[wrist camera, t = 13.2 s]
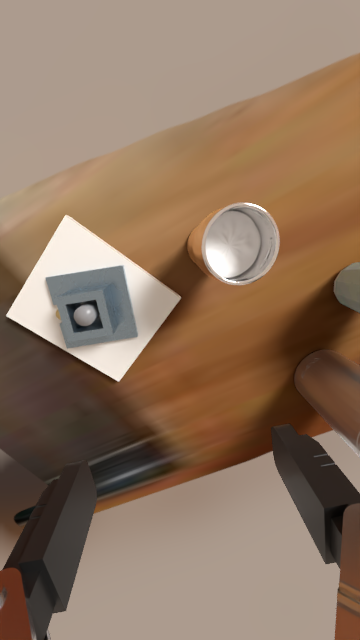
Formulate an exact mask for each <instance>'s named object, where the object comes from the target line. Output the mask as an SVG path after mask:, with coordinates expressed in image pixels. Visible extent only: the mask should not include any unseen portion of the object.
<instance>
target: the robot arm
mask: <svg viewBox="0 0 360 640" xmlns="http://www.w3.org/2000/svg"><path fill="white" fill-rule="evenodd" d="M294 383H295V387H296V389H297V390H298V392H299V393H300V394H301V395H302V396H303V397H304V398H305V399H306V400H307V401H308V402H309V404H310V405H311V406H312V407H313V408H314V409H315V410H316V411H317V412H318V413H319V414H320V416H321V417H322V418H323V419H324V420H325V421H326V422H327V423H328V424H329V425H330V426H331V427H332V428H333V429H334V431H335V432H336V433H337V434H338V435H339V436H340V437H341V438H342V439H343V440H344V441H345V442H346V443H347V444H348V446H350V448H351V449H352V450H353V451H354V452H355V453H356V454H357V455H358V456H359V457H360V366H359V365H358V364H356V363H355V362H353V361H351V360H350V359H348V358H347V357H345V356H343V355H342V354H340V353H338V352H336V351H333V350H319V351H316V352H313V353H311V354H310V355H308V356H307V357H305V358H304V359H303V360H302V361H301V363H300V364H299V365H298V367H297V369H296V371H295V375H294ZM271 433H272V444H273V455H274V460H275V464H276V467H277V470H278V472H279V474H280V476H281V478H282V480H283V482H284V484H285V486H286V488H287V489H288V492H289V493H290V495H291V497H292V499H293V501H294V503H295V505H296V507H297V509H298V511H299V513H300V515H301V517H302V519H303V521H304V523H305V525H306V527H307V529H308V531H309V533H310V534H311V537H312V538H313V540H314V542H315V544H316V546H317V548H318V550H319V552H320V554H321V556H322V558H323V560H324V562H325V564H330V563H334V562H336V563H337V565H338V566H339V568H340V578H339V588H338V594H337V608H336V624H335V639H334V640H360V493H359V492H358V491H357V490H356V489H355V487H354V486H353V485H352V483H351V482H350V481H349V480H348V479H347V477H346V476H345V475H344V473H343V472H342V471H341V470H340V469H339V467H338V466H337V465H335V463H334V461H333V460H332V459H331V457H330V456H328V454H327V452H326V451H325V450H324V449H323V447H322V446H321V445H320V444H319V442H317V441H315V440H314V439H313V438H311V437H310V436H308V435H307V434H305V435H300V436H299V435H298V434H297V432H296V431H295V430H294V428H293V427H292V426H291V424H284V425H278V426H273V427H272V428H271ZM96 500H97V491H96V486H95V483H94V480H93V477H92V474H91V471H90V468H89V465H88V463H87V461H85V460H84V461H78V462H73V463H68V464H66V465H65V467H64V469H63V471H62V473H61V475H60V477H59V479H56V480H53V481H52V482H51V484H50V485H49V486H48V487H47V488H46V489H45V490H44V491H43V493H42V495H41V497H40V499H39V501H38V502H37V504H36V508H35V509H34V510H33V512H32V514H31V516H30V520H28V522H27V524H26V526H25V527H24V529H23V532H22V533H21V535H20V537H19V539H18V541H17V543H16V545H15V547H14V549H13V551H12V552H11V554H10V556H9V558H8V560H7V562H6V564H5V566H4V568H3V569H2V570H1V571H0V640H51V638H50V634H49V631H48V626H49V623H50V620H51V616H52V613H58V612H63V611H66V608H67V604H68V601H69V597H70V594H71V590H72V587H73V584H74V580H75V576H76V573H77V569H78V566H79V562H80V559H81V555H82V552H83V548H84V545H85V541H86V538H87V534H88V531H89V527H90V523H91V520H92V516H93V513H94V509H95V506H96Z"/></svg>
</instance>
